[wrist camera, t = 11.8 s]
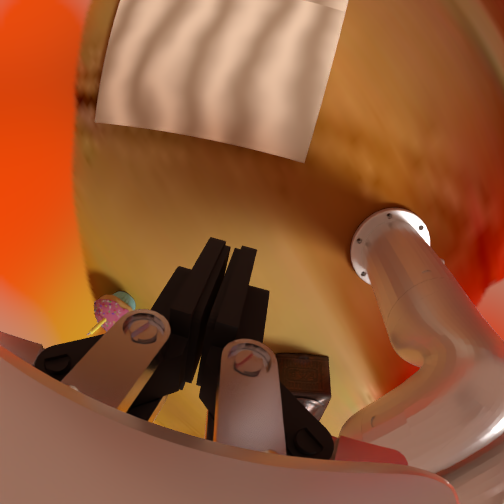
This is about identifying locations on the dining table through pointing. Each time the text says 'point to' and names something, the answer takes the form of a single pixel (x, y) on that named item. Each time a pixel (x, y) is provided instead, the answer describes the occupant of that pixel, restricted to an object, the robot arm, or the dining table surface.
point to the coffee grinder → (306, 380)
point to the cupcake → (111, 309)
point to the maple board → (222, 69)
